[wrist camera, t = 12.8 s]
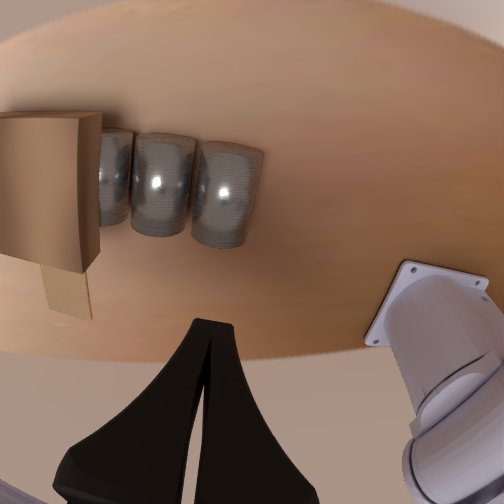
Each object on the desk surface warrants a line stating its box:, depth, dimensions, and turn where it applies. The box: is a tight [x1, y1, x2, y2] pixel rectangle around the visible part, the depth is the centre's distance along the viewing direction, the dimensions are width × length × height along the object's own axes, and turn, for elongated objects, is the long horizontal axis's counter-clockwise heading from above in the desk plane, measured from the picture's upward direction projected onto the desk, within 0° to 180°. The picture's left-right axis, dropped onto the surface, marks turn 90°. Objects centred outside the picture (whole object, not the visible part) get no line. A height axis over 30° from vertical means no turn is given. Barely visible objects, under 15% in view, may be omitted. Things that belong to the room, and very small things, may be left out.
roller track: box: [40, 128, 264, 321], centre depth 19 cm, size 19×16×3 cm
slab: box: [0, 111, 103, 274], centre depth 14 cm, size 10×8×2 cm
